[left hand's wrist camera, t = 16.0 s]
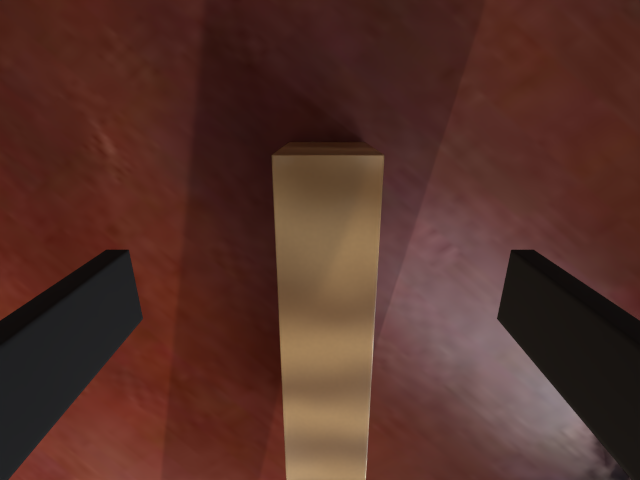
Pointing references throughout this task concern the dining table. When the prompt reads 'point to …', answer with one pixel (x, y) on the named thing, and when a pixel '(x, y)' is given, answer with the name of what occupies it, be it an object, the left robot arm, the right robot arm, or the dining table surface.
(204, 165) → the dining table surface
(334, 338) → the bar
